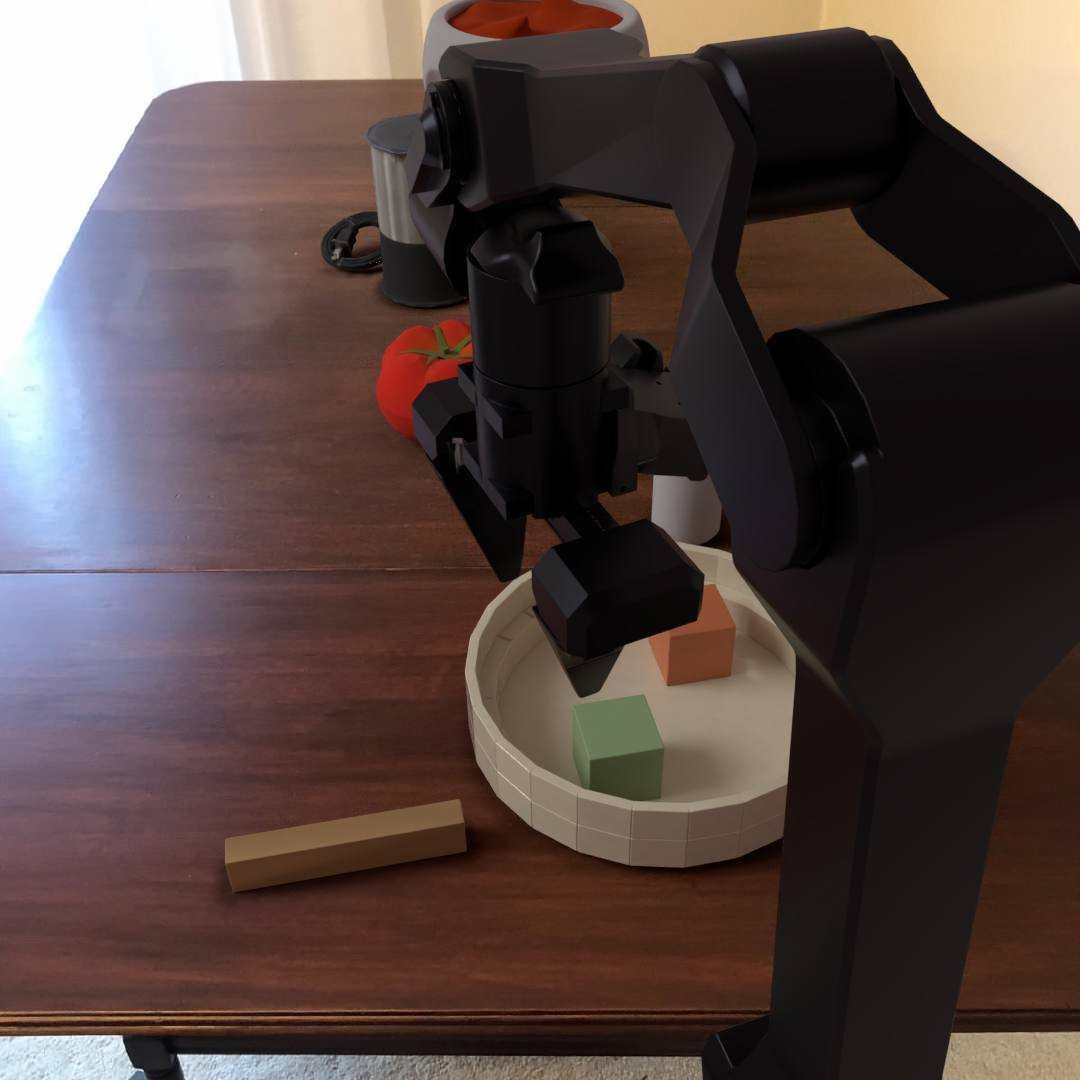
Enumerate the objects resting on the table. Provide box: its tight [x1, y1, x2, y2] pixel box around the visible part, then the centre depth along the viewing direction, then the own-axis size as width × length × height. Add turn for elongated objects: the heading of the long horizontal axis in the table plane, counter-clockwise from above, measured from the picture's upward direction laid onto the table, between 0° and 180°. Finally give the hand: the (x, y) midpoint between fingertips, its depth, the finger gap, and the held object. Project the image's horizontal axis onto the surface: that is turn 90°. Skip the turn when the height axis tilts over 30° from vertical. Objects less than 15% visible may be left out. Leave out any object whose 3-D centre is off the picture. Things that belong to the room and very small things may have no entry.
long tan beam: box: [224, 798, 468, 893], centre depth 63 cm, size 2×12×2 cm, turn 102°
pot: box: [421, 0, 651, 92], centre depth 131 cm, size 24×24×18 cm
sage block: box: [573, 694, 664, 801], centre depth 65 cm, size 4×4×4 cm
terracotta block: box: [649, 584, 736, 686], centre depth 73 cm, size 4×4×4 cm
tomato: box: [376, 318, 473, 442], centre depth 94 cm, size 11×11×8 cm
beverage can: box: [650, 474, 723, 546], centre depth 81 cm, size 5×5×12 cm
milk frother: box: [320, 112, 469, 308], centre depth 112 cm, size 14×16×15 cm
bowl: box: [464, 542, 796, 869], centre depth 69 cm, size 21×21×5 cm
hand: (546, 632), depth 60 cm, fingers open, 9 cm apart
